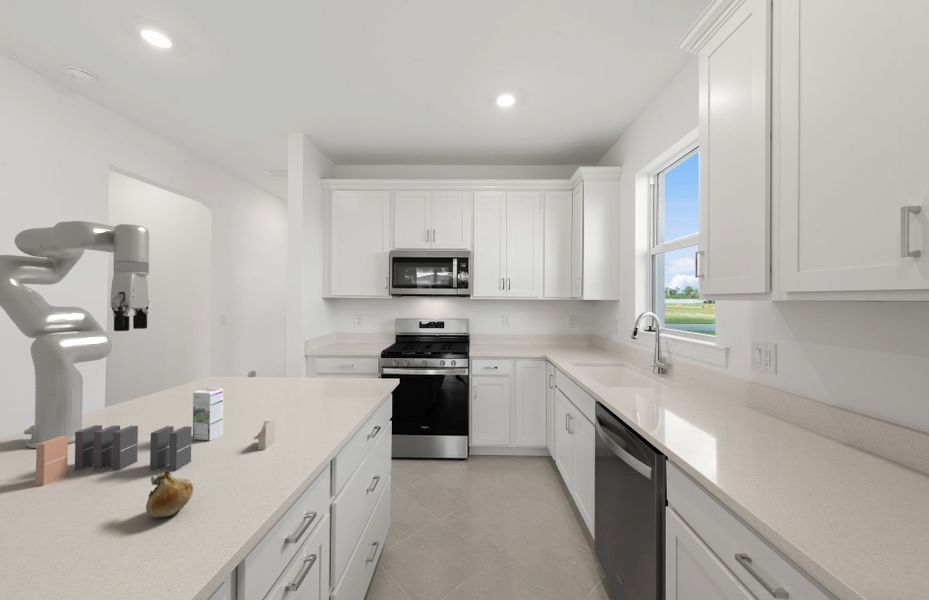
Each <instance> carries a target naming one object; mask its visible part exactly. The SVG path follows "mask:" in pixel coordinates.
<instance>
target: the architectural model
mask: <svg viewBox="0 0 929 600" xmlns="http://www.w3.org/2000/svg"><path fill="white" fill-rule="evenodd" d="M275 420H276V418H273V419H272V420H264V422H263V425H262V427H261V430H260V431H259V432H258V434H257V435H256V436H254V437H253V438H252V439H253V440H258V445H257V447H258V448H257V449H258V451H265V450H267V449H268V448H269V447H270V446H272V445H273V444H274V443H275V437H276V436H275V434H276V433H275V432H276V429H275V428H276V427H275V425H276V424H275V422H276V421H275Z"/></svg>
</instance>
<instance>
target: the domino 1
mask: <svg viewBox="0 0 929 600" xmlns="http://www.w3.org/2000/svg"><path fill="white" fill-rule="evenodd" d="M68 448H69V443H68V436H60V437H57V438H54V439H51V440H48V441H45V442H42V443H39V444H36V448H35V449H36V451H35V452H36V454H35V455H36V456H35V458H36V461H35V486H41V487H42V486H44V487H45V486H46V485H48V484H50V483H53V482H55V481H57V480H59V479H63V478H65V477H66V476H68Z"/></svg>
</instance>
